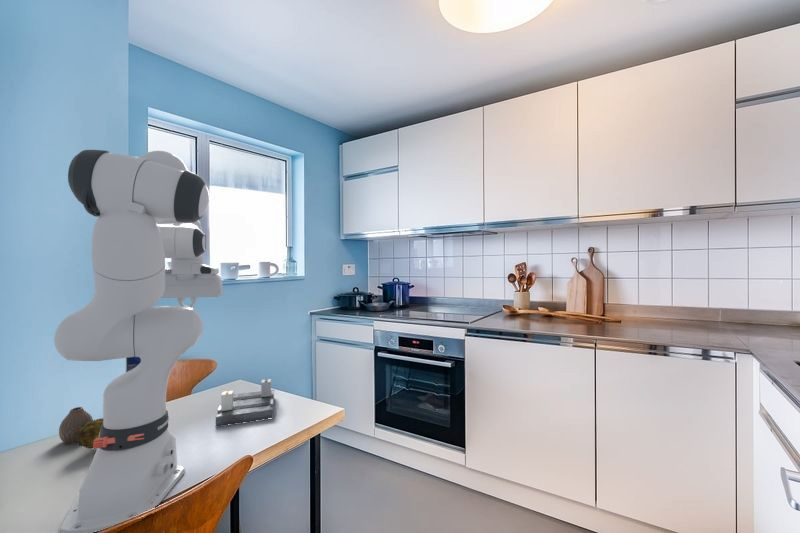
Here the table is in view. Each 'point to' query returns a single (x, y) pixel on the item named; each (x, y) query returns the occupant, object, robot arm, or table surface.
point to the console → (247, 409)
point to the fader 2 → (266, 388)
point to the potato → (89, 433)
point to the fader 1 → (227, 400)
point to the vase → (73, 424)
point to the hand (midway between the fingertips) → (187, 311)
